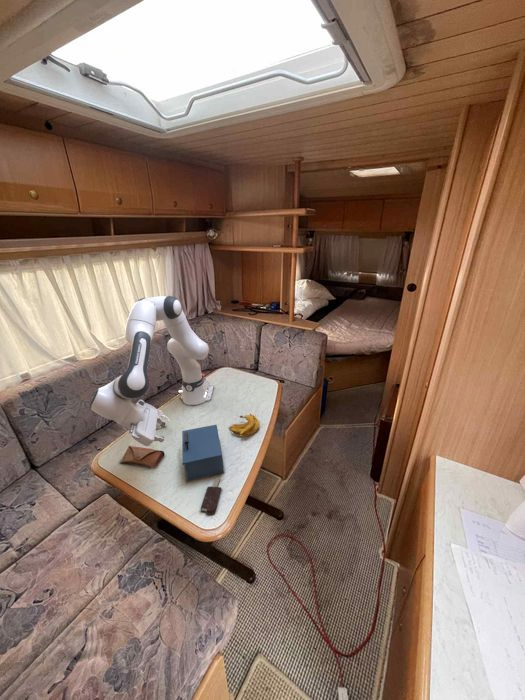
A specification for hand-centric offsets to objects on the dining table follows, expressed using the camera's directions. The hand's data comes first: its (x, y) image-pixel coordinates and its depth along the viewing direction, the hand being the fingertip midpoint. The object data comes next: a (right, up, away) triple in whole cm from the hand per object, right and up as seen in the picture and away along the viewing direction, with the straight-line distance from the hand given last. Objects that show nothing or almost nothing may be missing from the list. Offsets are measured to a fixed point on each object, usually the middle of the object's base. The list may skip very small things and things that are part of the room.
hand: (164, 432), depth 111 cm
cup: (-13, -7, +32) cm, 35 cm away
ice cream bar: (+21, -22, -6) cm, 31 cm away
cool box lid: (+14, -7, +7) cm, 17 cm away
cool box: (+14, -15, +11) cm, 23 cm away
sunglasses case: (-14, -16, +12) cm, 24 cm away
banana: (+31, -7, +29) cm, 43 cm away
